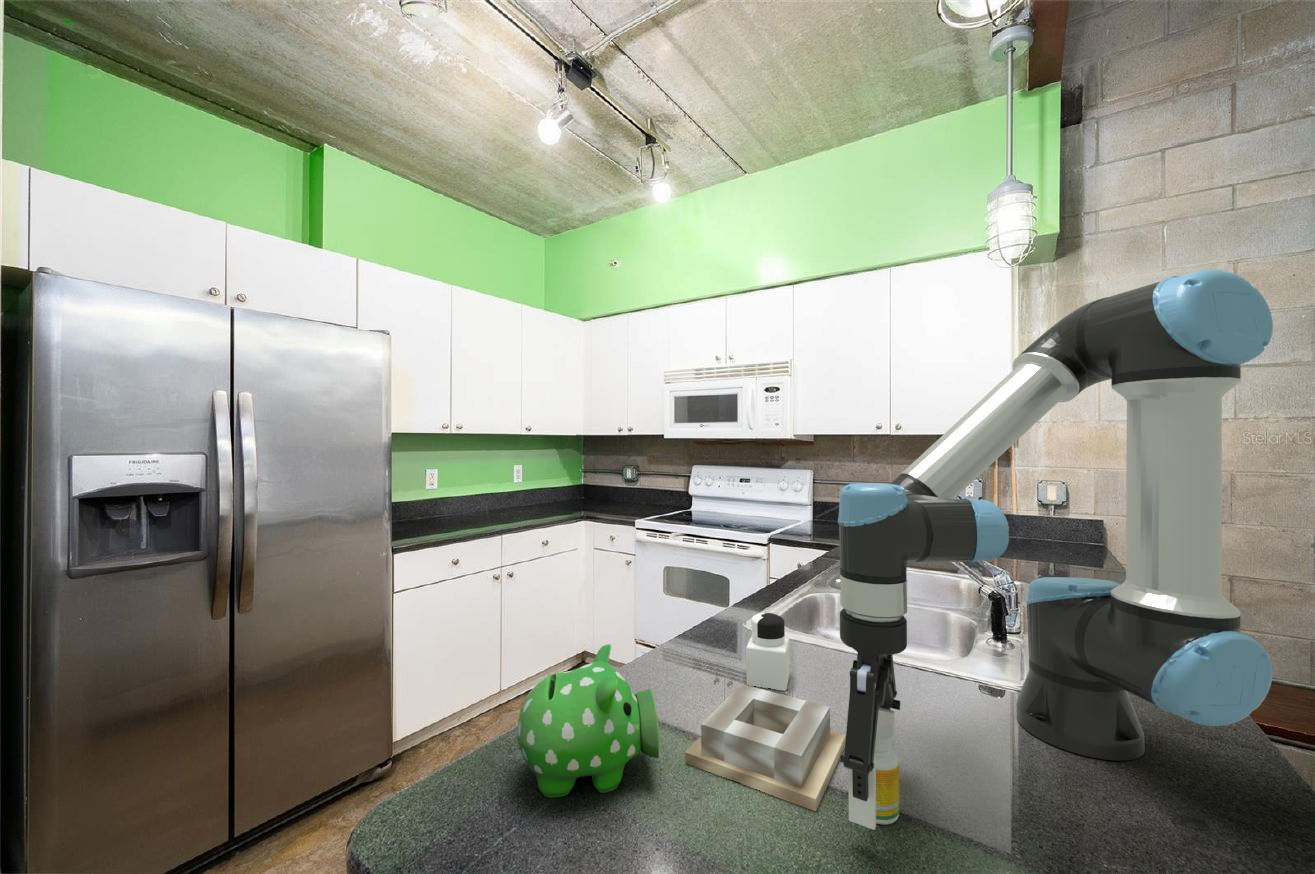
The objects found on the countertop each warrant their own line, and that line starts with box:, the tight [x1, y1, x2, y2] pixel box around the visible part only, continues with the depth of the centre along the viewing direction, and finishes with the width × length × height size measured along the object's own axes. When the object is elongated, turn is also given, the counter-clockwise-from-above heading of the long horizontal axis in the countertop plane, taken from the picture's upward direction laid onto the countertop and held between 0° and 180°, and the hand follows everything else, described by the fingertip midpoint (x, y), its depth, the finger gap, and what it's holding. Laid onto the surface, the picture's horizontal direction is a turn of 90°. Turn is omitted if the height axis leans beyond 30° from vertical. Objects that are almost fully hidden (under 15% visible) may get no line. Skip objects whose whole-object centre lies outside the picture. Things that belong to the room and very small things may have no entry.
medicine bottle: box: [745, 612, 791, 692], centre depth 97 cm, size 7×7×12 cm
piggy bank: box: [517, 643, 660, 798], centre depth 70 cm, size 14×18×15 cm
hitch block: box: [684, 683, 846, 812], centre depth 74 cm, size 18×16×6 cm
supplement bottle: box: [873, 723, 900, 826], centre depth 63 cm, size 5×5×10 cm
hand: (873, 788), depth 62 cm, fingers open, 13 cm apart
